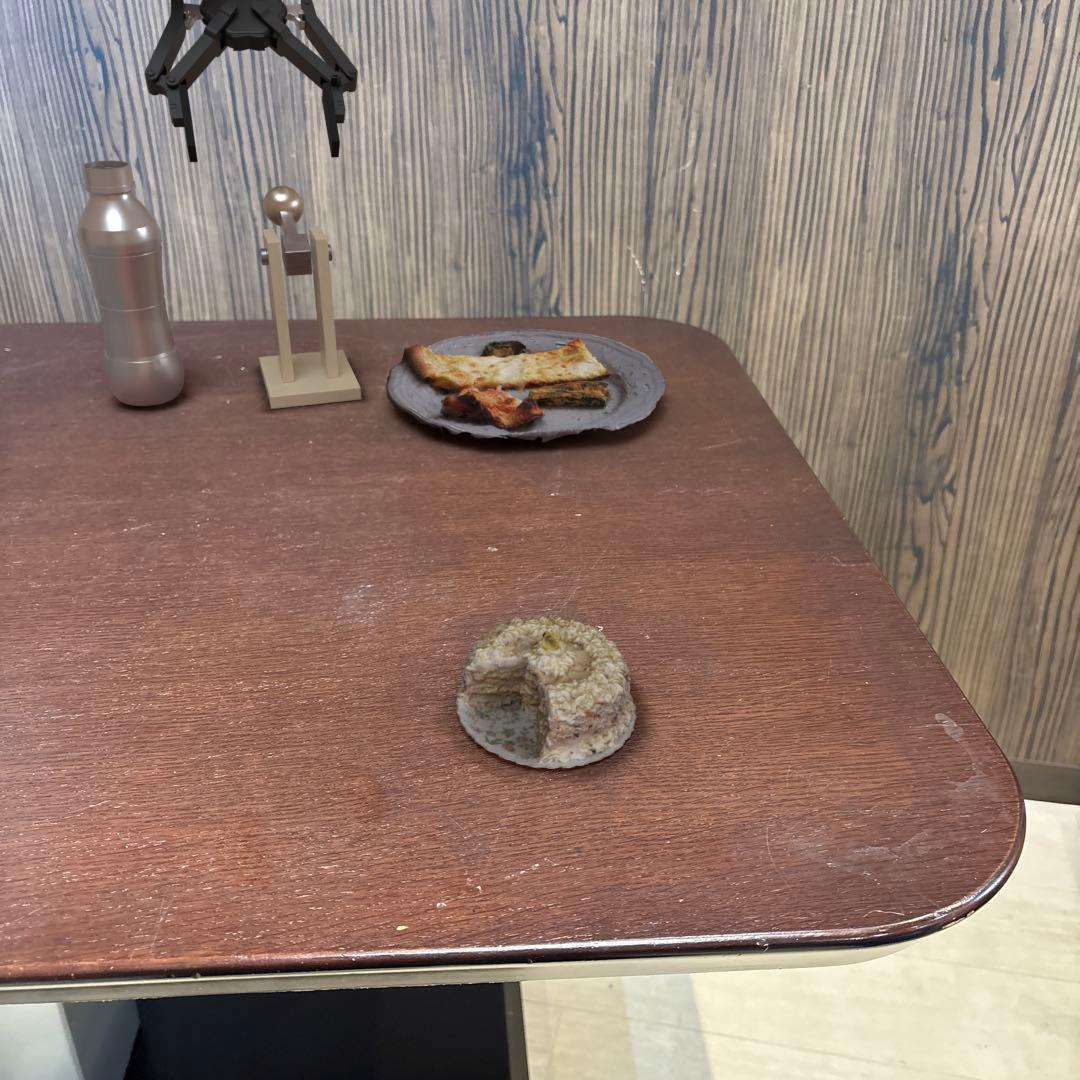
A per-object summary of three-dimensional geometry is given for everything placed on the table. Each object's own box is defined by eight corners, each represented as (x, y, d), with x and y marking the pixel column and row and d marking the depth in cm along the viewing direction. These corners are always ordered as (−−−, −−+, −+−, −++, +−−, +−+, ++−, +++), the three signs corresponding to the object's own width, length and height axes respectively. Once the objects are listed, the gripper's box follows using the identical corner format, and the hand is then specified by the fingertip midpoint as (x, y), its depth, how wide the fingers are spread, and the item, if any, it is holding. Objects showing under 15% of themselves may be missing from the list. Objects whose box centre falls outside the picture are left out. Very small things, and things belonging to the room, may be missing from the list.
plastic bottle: (152, 380, 93) (110, 153, 83) (204, 396, 91) (168, 163, 80) (94, 403, 89) (42, 165, 78) (147, 421, 86) (100, 177, 75)
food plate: (396, 464, 80) (394, 424, 78) (378, 359, 99) (376, 325, 98) (695, 444, 84) (700, 406, 83) (622, 347, 104) (625, 314, 102)
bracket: (260, 368, 97) (241, 222, 90) (343, 360, 99) (332, 217, 92) (271, 409, 89) (251, 252, 81) (361, 399, 91) (350, 245, 84)
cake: (524, 640, 61) (531, 563, 59) (668, 707, 57) (682, 626, 54) (416, 717, 54) (419, 633, 51) (571, 801, 49) (583, 713, 47)
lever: (262, 214, 94) (259, 178, 92) (301, 212, 95) (299, 177, 93) (279, 283, 88) (275, 246, 85) (320, 280, 89) (319, 244, 86)
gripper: (357, -9, 109) (388, 168, 105) (111, -11, 102) (135, 178, 98) (362, -63, 102) (395, 125, 98) (97, -69, 95) (123, 132, 91)
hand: (265, 152), depth 98 cm, fingers open, 13 cm apart
